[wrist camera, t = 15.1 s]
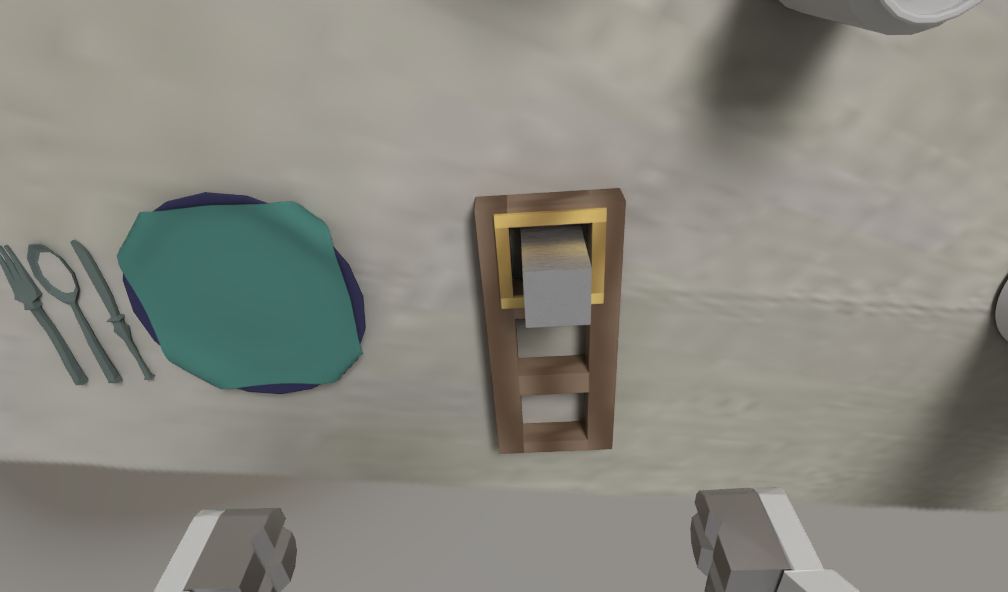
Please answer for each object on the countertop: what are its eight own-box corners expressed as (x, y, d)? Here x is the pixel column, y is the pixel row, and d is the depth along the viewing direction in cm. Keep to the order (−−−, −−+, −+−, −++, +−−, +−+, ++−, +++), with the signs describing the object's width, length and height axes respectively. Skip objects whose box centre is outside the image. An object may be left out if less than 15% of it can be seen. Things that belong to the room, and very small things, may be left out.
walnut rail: (619, 188, 42) (626, 203, 40) (608, 429, 56) (612, 451, 54) (475, 197, 43) (474, 212, 40) (500, 434, 57) (499, 456, 54)
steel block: (578, 217, 44) (591, 268, 37) (578, 268, 46) (590, 324, 39) (520, 221, 44) (522, 272, 37) (523, 271, 46) (525, 327, 40)
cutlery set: (390, 375, 53) (385, 392, 51) (90, 390, 55) (74, 406, 53) (340, 175, 42) (332, 186, 40) (-29, 201, 44) (-55, 213, 42)
